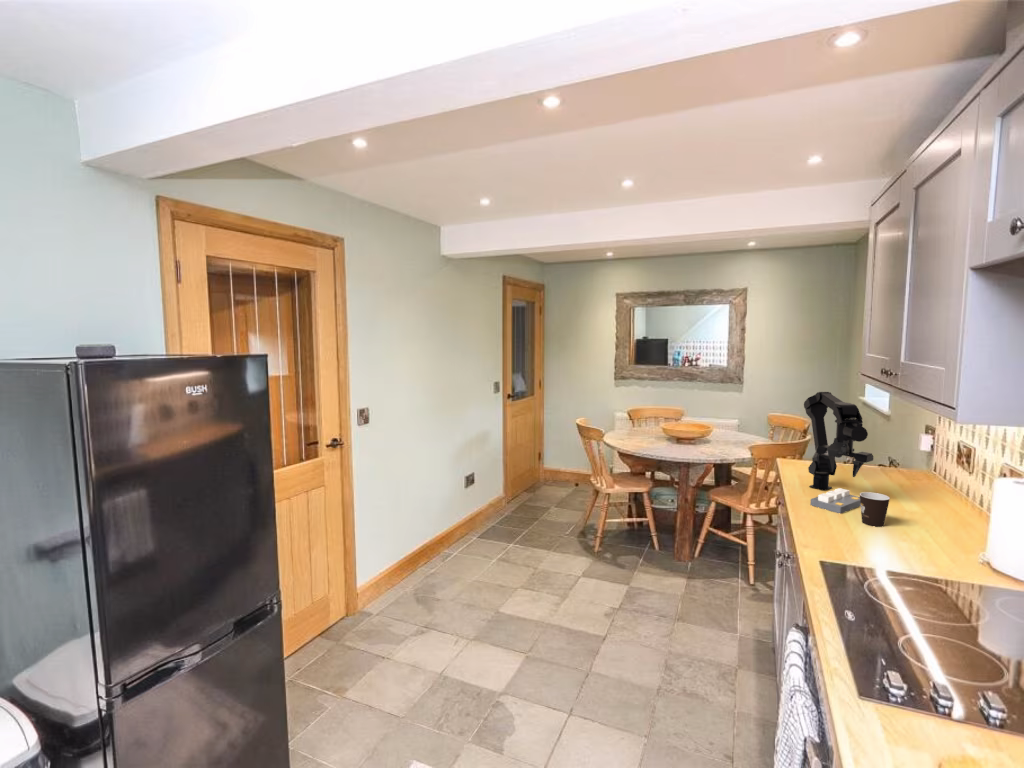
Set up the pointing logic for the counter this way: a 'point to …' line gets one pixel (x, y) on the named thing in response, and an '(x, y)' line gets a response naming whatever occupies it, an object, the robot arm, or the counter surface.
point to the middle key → (835, 495)
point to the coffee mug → (873, 508)
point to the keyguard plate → (838, 504)
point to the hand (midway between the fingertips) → (842, 474)
